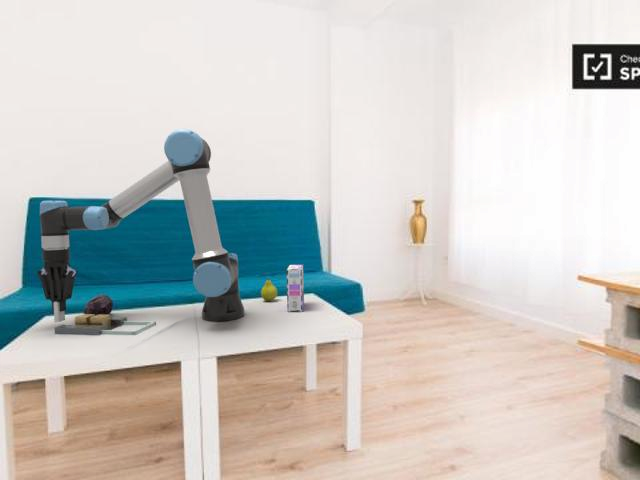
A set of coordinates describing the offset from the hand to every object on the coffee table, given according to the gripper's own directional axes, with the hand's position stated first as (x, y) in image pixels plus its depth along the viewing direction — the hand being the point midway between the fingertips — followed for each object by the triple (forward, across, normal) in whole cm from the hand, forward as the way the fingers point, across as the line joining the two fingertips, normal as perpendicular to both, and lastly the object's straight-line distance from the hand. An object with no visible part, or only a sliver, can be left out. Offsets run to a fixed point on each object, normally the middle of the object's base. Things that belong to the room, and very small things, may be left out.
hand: (59, 320), depth 135 cm
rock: (+4, -3, -15) cm, 16 cm away
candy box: (+3, -70, -39) cm, 80 cm away
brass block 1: (+2, -9, 0) cm, 9 cm away
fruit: (+3, -56, -51) cm, 76 cm away
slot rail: (+4, -12, 0) cm, 12 cm away
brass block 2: (+2, -15, 0) cm, 15 cm away
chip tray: (+4, -25, 0) cm, 25 cm away
